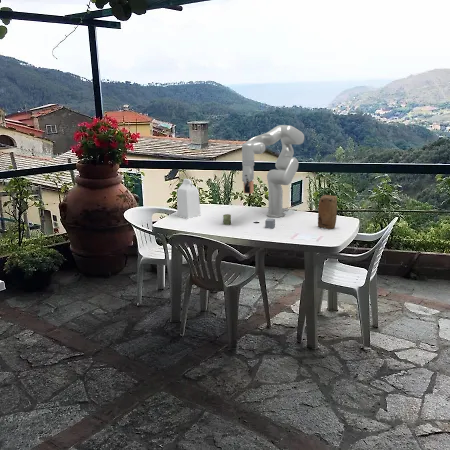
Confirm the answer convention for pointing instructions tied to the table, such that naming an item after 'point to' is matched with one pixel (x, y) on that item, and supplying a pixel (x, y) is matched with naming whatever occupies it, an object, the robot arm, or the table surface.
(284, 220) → the table surface
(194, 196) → the milk
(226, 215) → the olive cylinder
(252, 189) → the terracotta block
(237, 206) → the table surface
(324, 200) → the block
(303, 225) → the table surface
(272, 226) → the grey cube
